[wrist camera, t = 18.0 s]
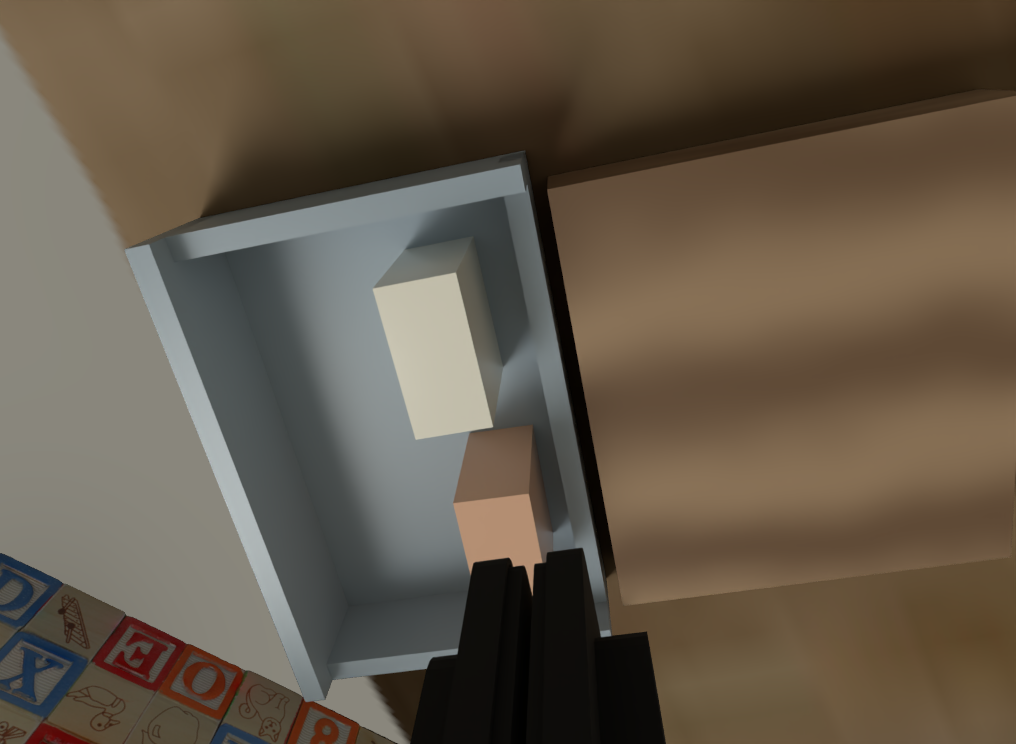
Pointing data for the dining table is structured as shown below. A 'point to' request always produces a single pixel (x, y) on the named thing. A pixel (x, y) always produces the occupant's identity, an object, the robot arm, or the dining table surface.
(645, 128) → the dining table surface
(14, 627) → the stack of blocks
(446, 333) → the cream tile
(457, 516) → the peach block
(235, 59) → the dining table surface
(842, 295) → the walnut board
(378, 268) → the tray
